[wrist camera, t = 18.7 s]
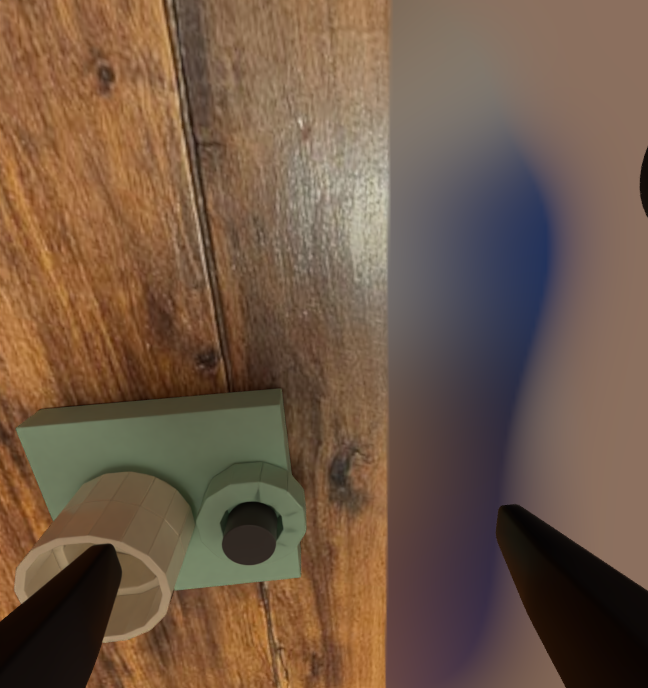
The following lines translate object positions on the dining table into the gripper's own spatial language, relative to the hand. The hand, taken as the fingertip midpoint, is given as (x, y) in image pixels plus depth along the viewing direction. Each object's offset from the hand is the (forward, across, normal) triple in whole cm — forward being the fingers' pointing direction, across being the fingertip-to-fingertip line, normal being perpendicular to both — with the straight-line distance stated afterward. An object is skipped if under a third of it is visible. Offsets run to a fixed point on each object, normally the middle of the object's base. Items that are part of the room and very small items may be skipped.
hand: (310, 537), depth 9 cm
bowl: (+10, +10, +8) cm, 16 cm away
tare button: (+9, +3, +8) cm, 12 cm away
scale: (+12, +8, +8) cm, 16 cm away
